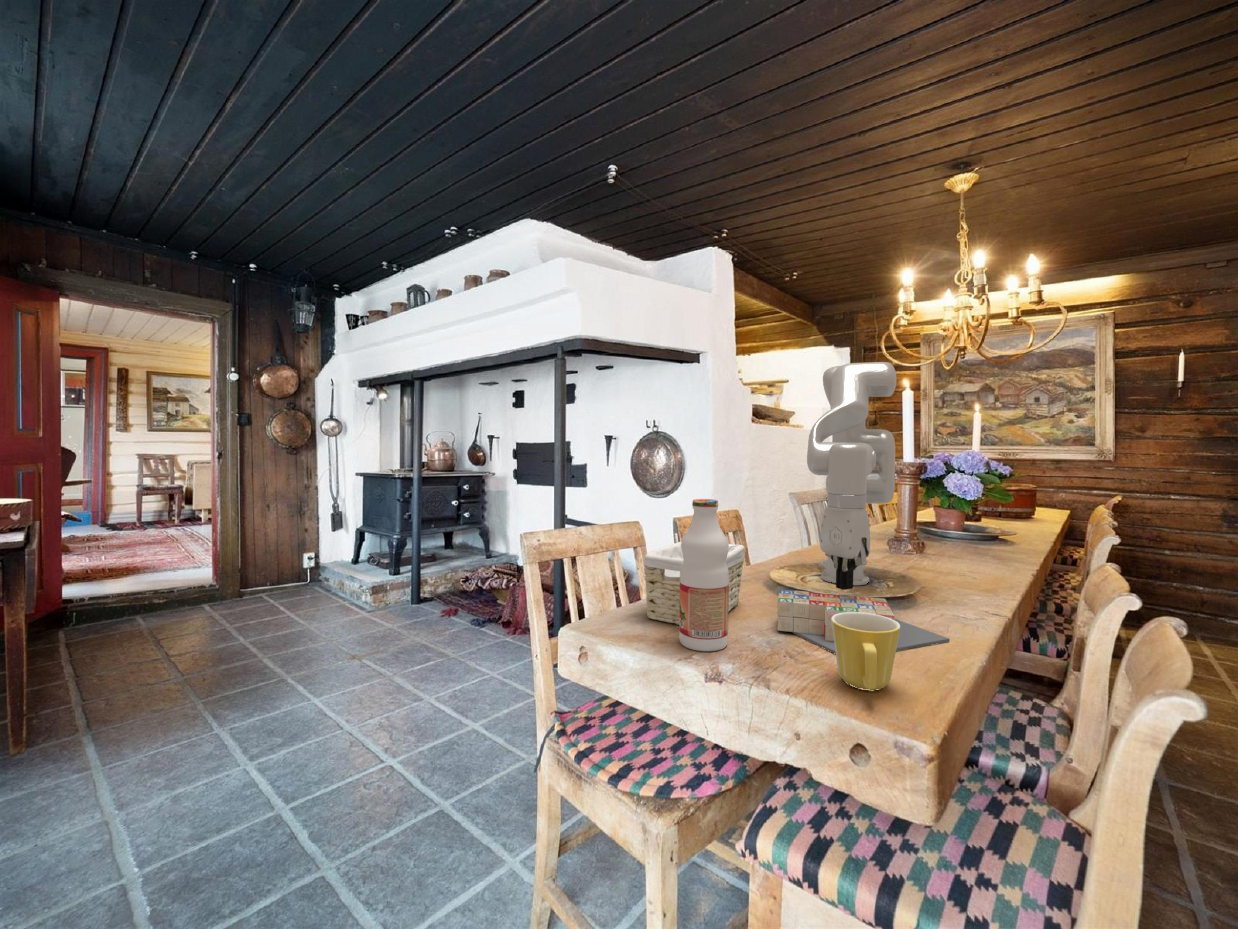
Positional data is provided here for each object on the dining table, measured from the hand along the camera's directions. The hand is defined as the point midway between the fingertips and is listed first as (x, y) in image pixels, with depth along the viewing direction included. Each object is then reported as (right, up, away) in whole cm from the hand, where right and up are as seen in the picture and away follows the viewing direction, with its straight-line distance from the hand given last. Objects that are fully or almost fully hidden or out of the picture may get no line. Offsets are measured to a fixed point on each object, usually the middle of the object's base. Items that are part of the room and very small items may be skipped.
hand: (844, 588), depth 118 cm
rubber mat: (+3, -9, -6) cm, 11 cm away
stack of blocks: (-2, -4, +1) cm, 5 cm away
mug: (-9, -10, -29) cm, 32 cm away
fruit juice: (-31, -9, -10) cm, 34 cm away
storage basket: (-30, -8, +10) cm, 33 cm away
